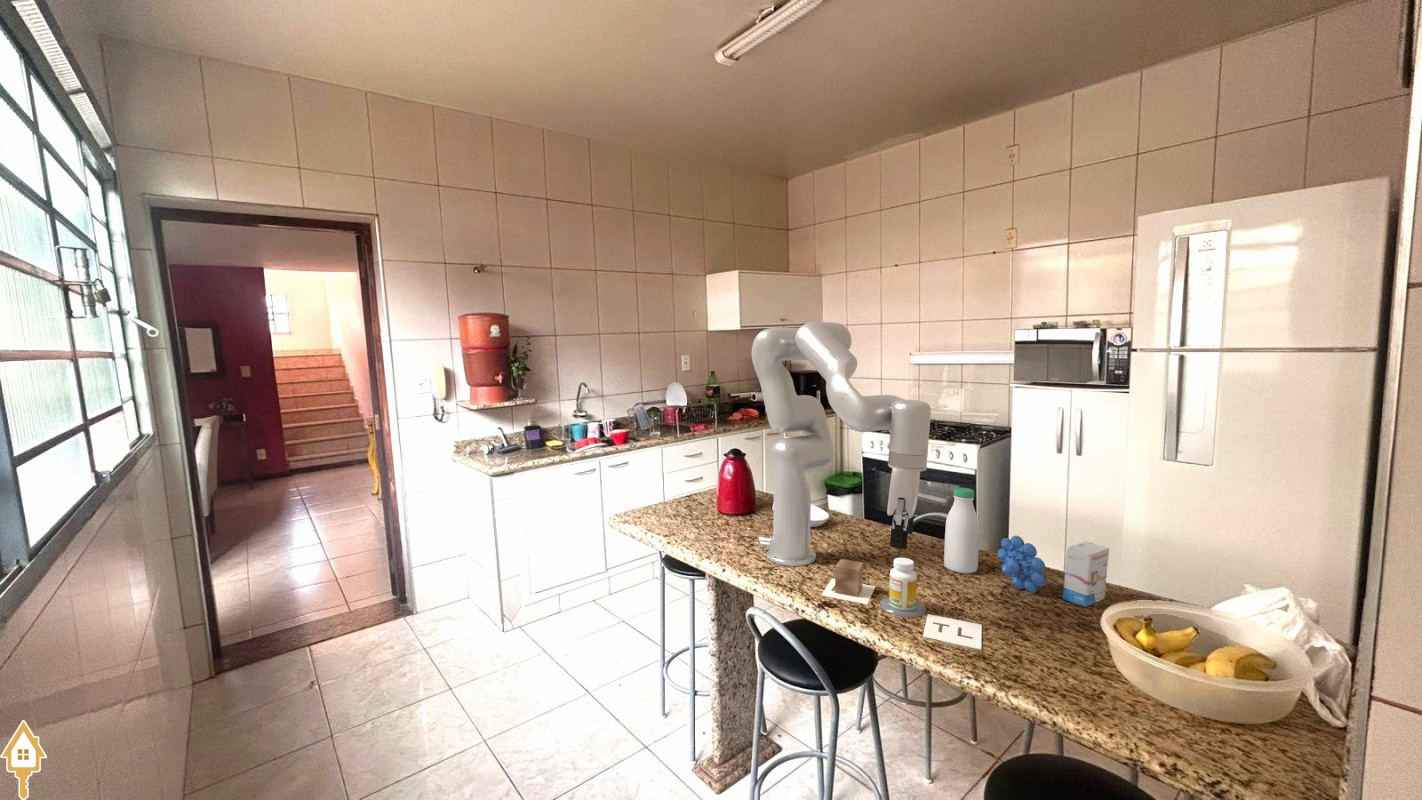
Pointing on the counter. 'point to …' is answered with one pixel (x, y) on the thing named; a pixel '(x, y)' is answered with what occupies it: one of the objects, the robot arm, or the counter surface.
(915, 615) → the gray round coaster
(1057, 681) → the counter surface
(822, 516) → the spoon rest
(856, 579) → the walnut block
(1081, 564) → the ink box
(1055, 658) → the counter surface
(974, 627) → the card
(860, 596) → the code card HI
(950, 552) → the milk bottle
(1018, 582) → the grapes
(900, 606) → the supplement bottle
